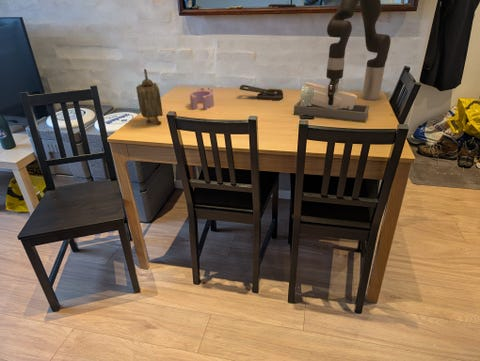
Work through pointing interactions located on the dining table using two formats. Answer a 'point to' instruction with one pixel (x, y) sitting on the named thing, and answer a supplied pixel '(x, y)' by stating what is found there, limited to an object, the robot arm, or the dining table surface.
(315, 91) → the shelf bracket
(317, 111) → the grey rectangular tray
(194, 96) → the clip
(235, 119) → the dining table surface
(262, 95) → the black elongated piece
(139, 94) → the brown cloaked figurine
